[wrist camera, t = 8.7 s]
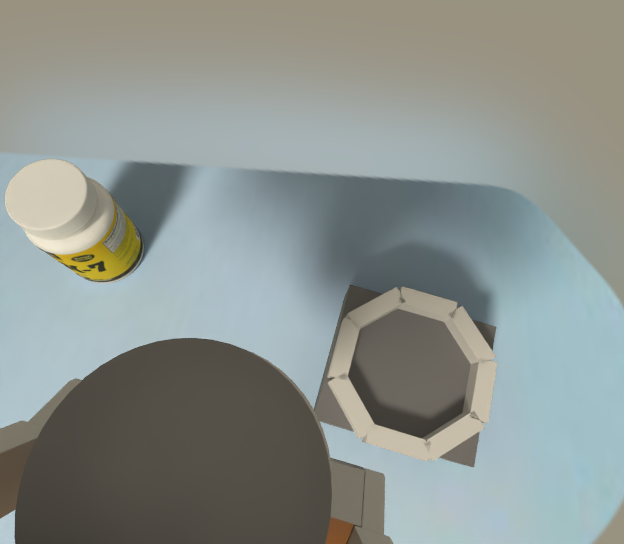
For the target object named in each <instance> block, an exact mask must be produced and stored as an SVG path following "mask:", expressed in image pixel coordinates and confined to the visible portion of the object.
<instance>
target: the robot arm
mask: <svg viewBox="0 0 624 544" xmlns="http://www.w3.org/2000/svg"><path fill="white" fill-rule="evenodd" d="M81 381H82V380H79V379H76V378H75V379H73V380H71V381H69V382H68V383H67V384H66V385H65V386H64V387H63V388H62V389H61V390H60V391H59V392H58V393H57V394H56V395H55V396H54V397H53V398H52V399H51V400H50V401H49V402H48V403H47V404H46V405H45V406H44V407H43V408H42V409H41V410H39V411H38V412H37V413H36V414H35V415H34V416H33V417H32V418H31V419H30V420H29V421H28V422H26V421H19V422H17V423H14V424H11V425H9V426H6V427H4V428H1V429H0V518H2V517H4V516H5V515H7V514H9V513H10V512H12V511H14V510H15V509H16V504H17V497H18V490H19V486H20V482H21V479H22V475H23V471H24V467H25V465H26V462H27V460H28V457H29V455H30V452H31V450H32V447H33V445H34V443H35V441H36V439H37V437H38V436H39V434H40V432H41V430H42V428H43V426H44V425H45V423H46V422H47V420H48V419H49V417H50V416H51V414H52V413H53V412H54V410H55V409H56V407H57V406H58V405H59V404H60V403H61V402H62V400H63V399H64V398H65V397H66V396H67V395H68V393H69V392H70V391H71V390H72V389H73V388H74V387H76V386H77V385H78V384H79V383H80V382H81ZM330 460H331V466H332V483H333V490H332V505H331V518H330V523H329V529H328V534H327V539H326V543H325V544H393V542H392V540H391V538H390V537H389V536H386V535H384V506H385V476H384V474H382V473H379V472H376V471H372V470H369V469H366V468H363V467H360V466H357V465H353V464H350V463H346V462H343V461H340V460H336V459H333V458H330Z"/></svg>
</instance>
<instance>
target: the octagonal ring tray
mask: <svg viewBox="0 0 624 544" xmlns="http://www.w3.org/2000/svg"><path fill="white" fill-rule="evenodd" d="M457 304H458V302H455V301H452V300H448V299H445V298H441V297H438V296H434V295H431V294H427V293H424V292H420V291H417V290H413V289H410V288H406V287H403V286H402V287H401V288H400V289H399V290H398V288H397V287H395V288H394V289H392V290H390V291H388V292H386V293H384V294H380V293H377V292H374V291H370V290H367V289H363V288H360V287H356V286H353V285H350V287H349V289H348V291H347V293H346V295H345V298H344V301H343V305H342V309H341V312H340V316H339V320H338V323H337V327H336V331H335V334H334V338H333V341H332V345H331V349H330V352H329V356H328V360H327V363H326V367H325V371H324V374H323V378H322V382H321V385H320V389H319V392H318V396H317V400H316V403H315V407H314V411H315V413H316V415H317V418H318V420H319V421H320V422H324V423H327V424H330V425H334V426H337V427H340V428H343V429H347V430H350V431H353V432H355V434H356V436H357V438H362V437H363V440H362V442H365V443H369V444H372V445H375V446H378V447H382V448H385V449H388V450H392V451H395V452H398V453H401V454H405V455H408V456H411V457H415V458H418V459H421V460H424V461H428V459H429V460H433V461H434V460H435V459H437V458H442V459H446V460H449V461H452V462H456V463H459V464H463V465H467V466H471V467H474V463H475V457H476V451H477V444H478V438H479V432H480V431H481V430H482V429H484V428H485V427H484V426H483V424H482V423H488V420H489V414H490V407H491V401H492V394H493V388H494V381H495V375H496V368H497V362H494V361H491V359H493V358H495V357H496V356H495V354H494V353H493V351H492V350H493V343H494V337H495V331H496V327H495V326H491V325H488V324H484V323H481V322H477V321H474V320H471V318H470V316H469V315H468V313H467V312H466V310H465V309H464V307H463V306H461V307H459V308H457Z"/></svg>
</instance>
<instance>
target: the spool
mask: <svg viewBox="0 0 624 544" xmlns="http://www.w3.org/2000/svg"><path fill="white" fill-rule="evenodd" d="M332 490H333V483H332V466H331V460H330V455H329V449H328V445H327V442H326V438H325V435H324V432H323V429H322V427H321V424H320V422H319V420H318V418H317V415H316V413H315V411H314V410H313V408H312V406H311V405H310V403H309V401H308V400H307V398H306V397H305V395H304V394H303V393H302V392H301V390H300V389H299V388H298V387H297V385H296V384H295V383H294V382H293V381H292V380H291V379H290V378H289V377H288V376H287V375H286V374H285V373H283V372H282V371H281V370H280V369H278V368H277V367H276V366H274V365H273V364H272V363H270V362H269V361H267V360H265V359H264V358H262V357H260V356H258V355H256V354H254V353H252V352H249V351H247V350H244V349H242V348H239V347H236V346H234V345H231V344H228V343H223V342H219V341H215V340H209V339H198V338H181V339H170V340H164V341H158V342H154V343H150V344H147V345H143V346H140V347H137V348H134V349H132V350H130V351H128V352H125V353H123V354H121V355H118V356H117V357H115V358H113V359H112V360H110V361H108V362H106V363H105V364H103V365H101V366H100V367H99V368H97V369H96V370H95V371H93V372H92V373H91V374H89V375H88V376H87V377H85V378H84V379H83V380H82V381H81V382H80V383H79V384H78V385H77V386H76V387H74V388H73V389H72V390H71V391H70V392H69V393H68V395H67V396H66V397H65V398H64V399H63V400H62V402H61V403H60V404H59V405H58V406H57V407H56V409H55V410H54V412H53V413H52V414H51V416H50V417H49V419H48V420H47V422H46V423H45V425H44V426H43V428H42V430H41V432H40V434H39V436H38V437H37V439H36V441H35V443H34V445H33V447H32V450H31V452H30V455H29V457H28V460H27V462H26V465H25V467H24V471H23V475H22V479H21V482H20V486H19V490H18V497H17V504H16V511H15V544H325V543H326V539H327V534H328V529H329V523H330V518H331V505H332Z"/></svg>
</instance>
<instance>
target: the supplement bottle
mask: <svg viewBox="0 0 624 544" xmlns="http://www.w3.org/2000/svg"><path fill="white" fill-rule="evenodd" d="M5 205H6V209H7V211H8V213H9V215H10V217H11V218H12V219H13V220H14V221H15V222H16V223H17V224H19V225H20V226H21V227H22V228H23V229H24V231H25V233H26V235H27V236H28V238H29V239H30V240H31V241H32V242H33V243H34V244H35V245H36V246H37V247H38V248H40V249H41V250H43V251H44V252H46V253H47V254H49V255H50V256H52V257H53V258H55V259H56V260H58V261H59V262H60V263H62V264H64V265H65V266H66V267H68V268H69V269H71V270H72V271H74V272H75V273H77V274H78V275H79V276H81V277H83V278H84V279H86V280H88V281H91V282H95V283H113V282H117V281H120V280H122V279H124V278H126V277H127V276H128V275H130V274H131V273H132V272H133V271H134V270H135V269H136V268H137V266H138V265H139V263H140V261H141V259H142V256H143V251H144V243H143V238H142V236H141V234H140V232H139V230H138V229H137V228H136V226H135V225H134V224H133V223H132V221H131V220H130V219H129V217H128V216H127V215H126V214H125V212H124V211H123V210H122V209H121V207H120V206H119V205H118V204H117V202H116V201H115V200H114V199H113V197H112V196H111V195H110V194H109V192H108V191H107V190H106V189H105V188H104V187H103V186H102V185H101V184H99V183H98V182H97V181H95V180H93V179H91V178H88V177H86V176H85V174H84V173H83V172H82V171H81V170H80V169H79V168H78V167H76V166H75V165H73V164H71V163H69V162H67V161H64V160H59V159H45V160H40V161H37V162H34V163H32V164H29V165H27V166H26V167H24V168H23V169H21V170H20V171H19V172H18V173H17V174H16V175H15V176H14V177H13V178H12V180H11V181H10V183H9V185H8V187H7V189H6V193H5Z"/></svg>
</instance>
